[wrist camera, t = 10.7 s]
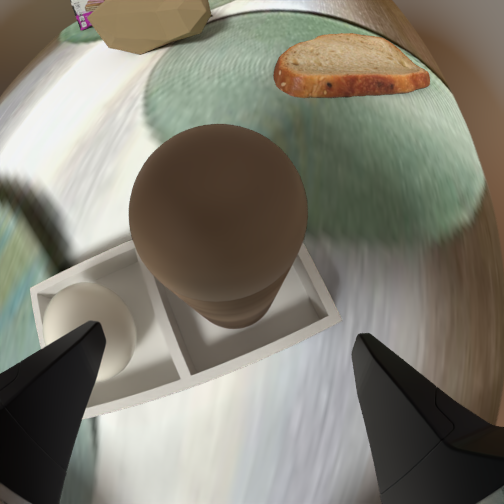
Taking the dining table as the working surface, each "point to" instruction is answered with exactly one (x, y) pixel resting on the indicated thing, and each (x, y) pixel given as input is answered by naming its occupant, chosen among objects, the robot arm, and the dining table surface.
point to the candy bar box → (84, 11)
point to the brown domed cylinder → (219, 220)
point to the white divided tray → (187, 327)
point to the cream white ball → (97, 309)
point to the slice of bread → (347, 68)
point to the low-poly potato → (148, 22)
